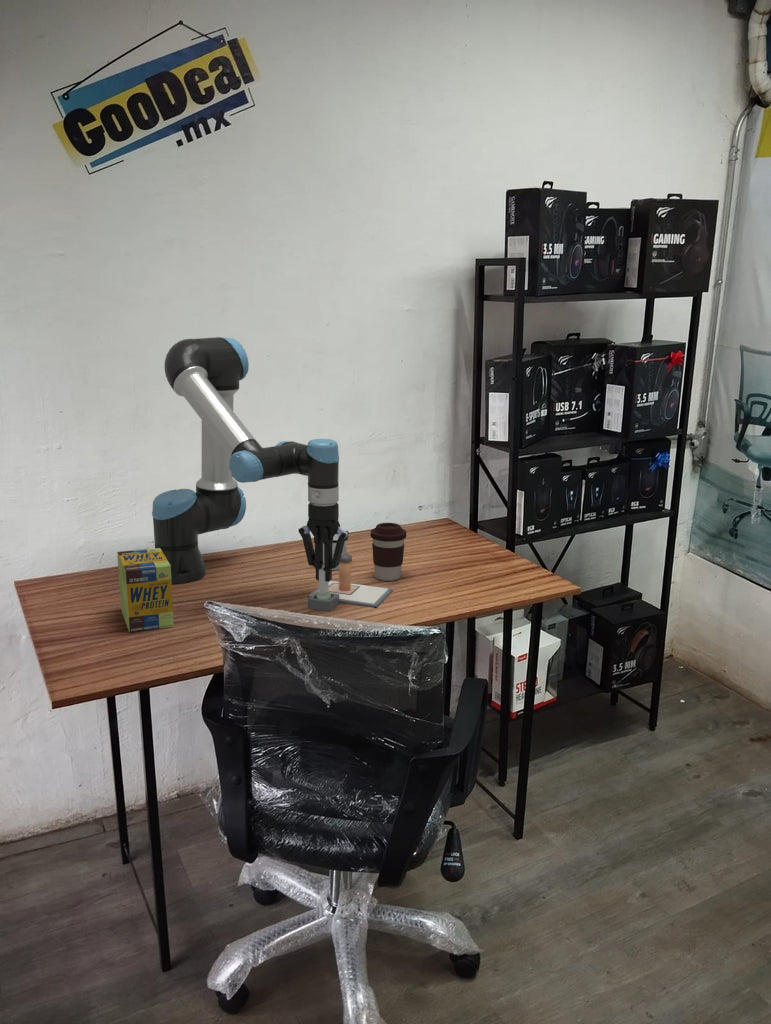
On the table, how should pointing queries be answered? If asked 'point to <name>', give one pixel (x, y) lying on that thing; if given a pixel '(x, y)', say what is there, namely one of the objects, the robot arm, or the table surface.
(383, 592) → the picture board
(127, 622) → the protein box
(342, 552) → the mug
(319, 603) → the button housing
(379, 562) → the coffee cup
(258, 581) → the table surface
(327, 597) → the button
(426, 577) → the table surface
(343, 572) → the marker
